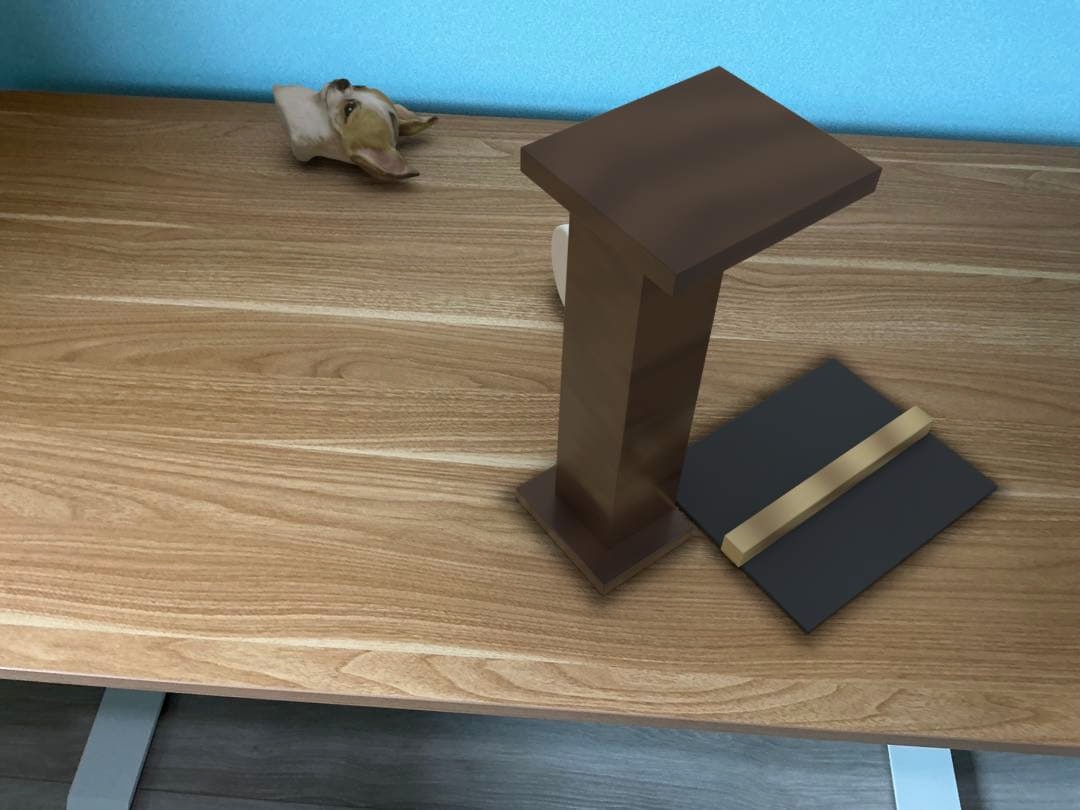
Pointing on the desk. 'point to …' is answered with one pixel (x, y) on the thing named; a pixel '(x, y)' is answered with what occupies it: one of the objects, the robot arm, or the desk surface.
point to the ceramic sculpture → (349, 126)
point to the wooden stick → (825, 486)
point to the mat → (848, 521)
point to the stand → (660, 291)
